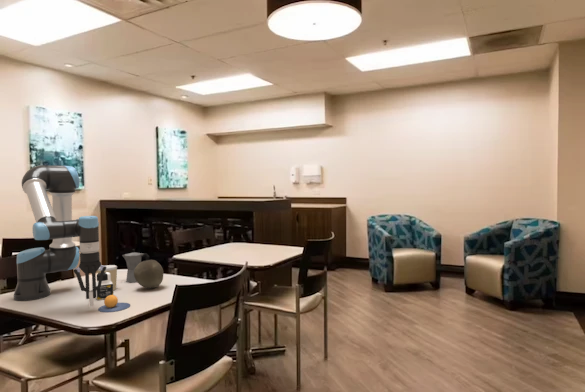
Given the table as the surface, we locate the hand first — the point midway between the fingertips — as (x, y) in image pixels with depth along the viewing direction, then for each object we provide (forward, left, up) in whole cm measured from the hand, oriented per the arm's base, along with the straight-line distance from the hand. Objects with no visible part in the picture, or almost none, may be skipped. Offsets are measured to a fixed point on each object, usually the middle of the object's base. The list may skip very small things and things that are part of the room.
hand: (91, 305), depth 172 cm
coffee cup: (+5, +35, -2) cm, 35 cm away
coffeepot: (+19, +49, -2) cm, 53 cm away
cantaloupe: (+25, +27, -2) cm, 37 cm away
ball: (+8, 0, +1) cm, 8 cm away
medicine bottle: (+4, +20, -2) cm, 21 cm away
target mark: (+9, 0, -2) cm, 9 cm away
